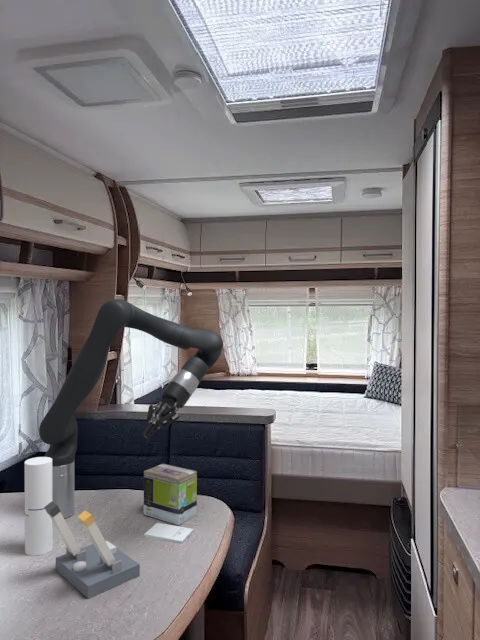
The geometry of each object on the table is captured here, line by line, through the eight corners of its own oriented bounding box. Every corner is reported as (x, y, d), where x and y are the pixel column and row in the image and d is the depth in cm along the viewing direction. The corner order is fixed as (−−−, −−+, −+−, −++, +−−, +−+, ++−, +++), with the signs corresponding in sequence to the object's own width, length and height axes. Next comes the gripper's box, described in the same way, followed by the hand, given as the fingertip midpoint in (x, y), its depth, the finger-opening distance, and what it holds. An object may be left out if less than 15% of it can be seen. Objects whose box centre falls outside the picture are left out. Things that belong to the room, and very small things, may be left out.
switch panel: (55, 569, 126) (55, 548, 126) (104, 550, 136) (104, 531, 136) (88, 598, 114) (88, 576, 114) (139, 575, 124) (139, 554, 123)
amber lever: (103, 564, 123) (76, 516, 118) (110, 558, 124) (83, 509, 119) (112, 571, 120) (84, 522, 114) (119, 564, 121) (92, 515, 116)
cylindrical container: (42, 557, 132) (42, 466, 131) (19, 554, 134) (18, 463, 133) (57, 544, 139) (57, 457, 138) (35, 541, 141) (34, 456, 140)
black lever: (69, 554, 128) (43, 506, 122) (76, 548, 129) (50, 500, 124) (77, 561, 125) (50, 511, 119) (84, 554, 126) (58, 505, 121)
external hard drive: (157, 527, 152) (194, 533, 148) (144, 539, 144) (182, 545, 140) (157, 522, 152) (194, 528, 148) (144, 533, 144) (182, 540, 140)
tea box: (197, 515, 160) (198, 470, 159) (178, 526, 151) (178, 479, 151) (162, 504, 168) (163, 462, 167) (142, 515, 159) (142, 470, 159)
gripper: (160, 377, 147) (124, 424, 139) (187, 383, 138) (150, 433, 130) (174, 393, 151) (140, 439, 143) (202, 399, 142) (167, 449, 134)
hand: (145, 436), depth 136 cm, fingers closed
